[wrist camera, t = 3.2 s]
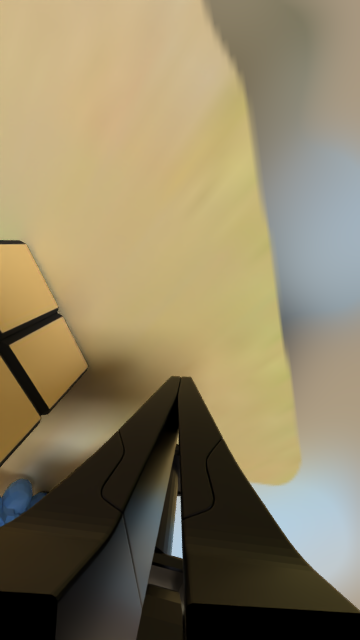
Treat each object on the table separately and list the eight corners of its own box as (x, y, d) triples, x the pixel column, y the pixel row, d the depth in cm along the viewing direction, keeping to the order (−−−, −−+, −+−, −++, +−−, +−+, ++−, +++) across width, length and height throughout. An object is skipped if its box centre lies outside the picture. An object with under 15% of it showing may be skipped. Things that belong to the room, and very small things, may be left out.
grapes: (103, 517, 24) (16, 760, 13) (60, 525, 25) (-50, 746, 14) (40, 451, 20) (-152, 700, 9) (-5, 465, 22) (-213, 690, 11)
